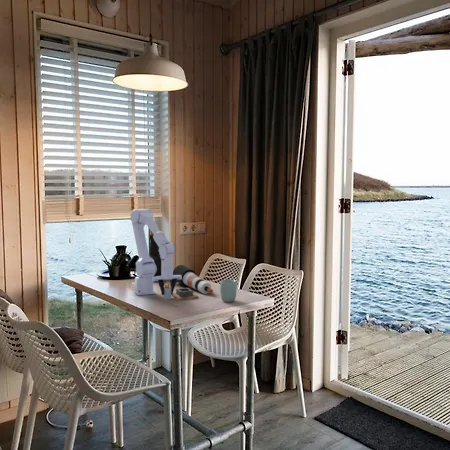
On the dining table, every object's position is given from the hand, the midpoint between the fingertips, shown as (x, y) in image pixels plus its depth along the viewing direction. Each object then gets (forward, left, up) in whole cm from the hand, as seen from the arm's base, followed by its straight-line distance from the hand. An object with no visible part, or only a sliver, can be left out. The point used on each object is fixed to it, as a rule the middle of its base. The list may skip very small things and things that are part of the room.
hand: (167, 294), depth 220 cm
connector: (0, 0, -2) cm, 2 cm away
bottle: (+4, +48, -2) cm, 48 cm away
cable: (+19, +14, -2) cm, 24 cm away
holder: (+9, 0, -2) cm, 9 cm away
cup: (+26, -16, -2) cm, 31 cm away
